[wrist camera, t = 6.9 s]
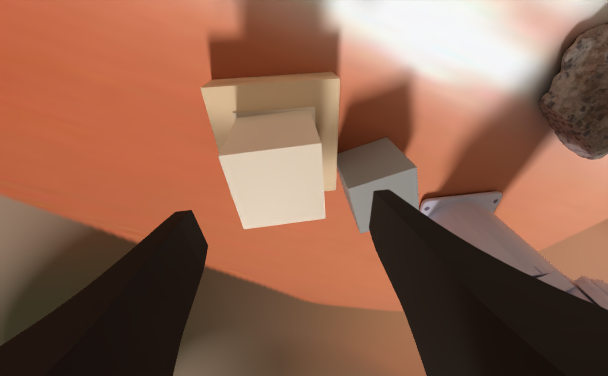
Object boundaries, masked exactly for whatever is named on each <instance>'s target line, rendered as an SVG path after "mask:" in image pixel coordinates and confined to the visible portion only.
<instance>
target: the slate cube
mask: <svg viewBox="0 0 608 376" xmlns="http://www.w3.org/2000/svg"><path fill="white" fill-rule="evenodd" d="M337 168H338V172H339V175H340V178H341V182H342V185H343V189H344V192H345V195H346V198H347V201H348V203H349V206H350V208H351V211H352V213H353V216H354V219H355V221H356V224H357V226H358V229H359V231H360V234H361V233H364V232H367V231H370V230H369V222H370V215H371V207H372V200H373V192H374V191H376V190H386V189H389V190H391V191H392V192H394V193H395V194H397V195H398V196H399V197H401V198H402V199H404V200H405V201H406V202H408V203H409V204H411V205H412V206H413V207H415V208H416V209H418V210H419V201H418V181H417V167H416V166H415V165H414V164H413V163H412V162H411V161H410V160H409V159H408V158H407V157H406V156H405V155H404V154H403V153H402V152H401V151H400V150H399V149H398V148H397V146H396V145H395V144H394V143H393V142H392V141H391V140H390V139H389V138H388V137H385V138H382V139H379V140H376V141H373V142H370V143H367V144H364V145H361V146H358V147H356V148H353V149H350V150H347V151H344V152H341V153H338V154H337Z"/></svg>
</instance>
